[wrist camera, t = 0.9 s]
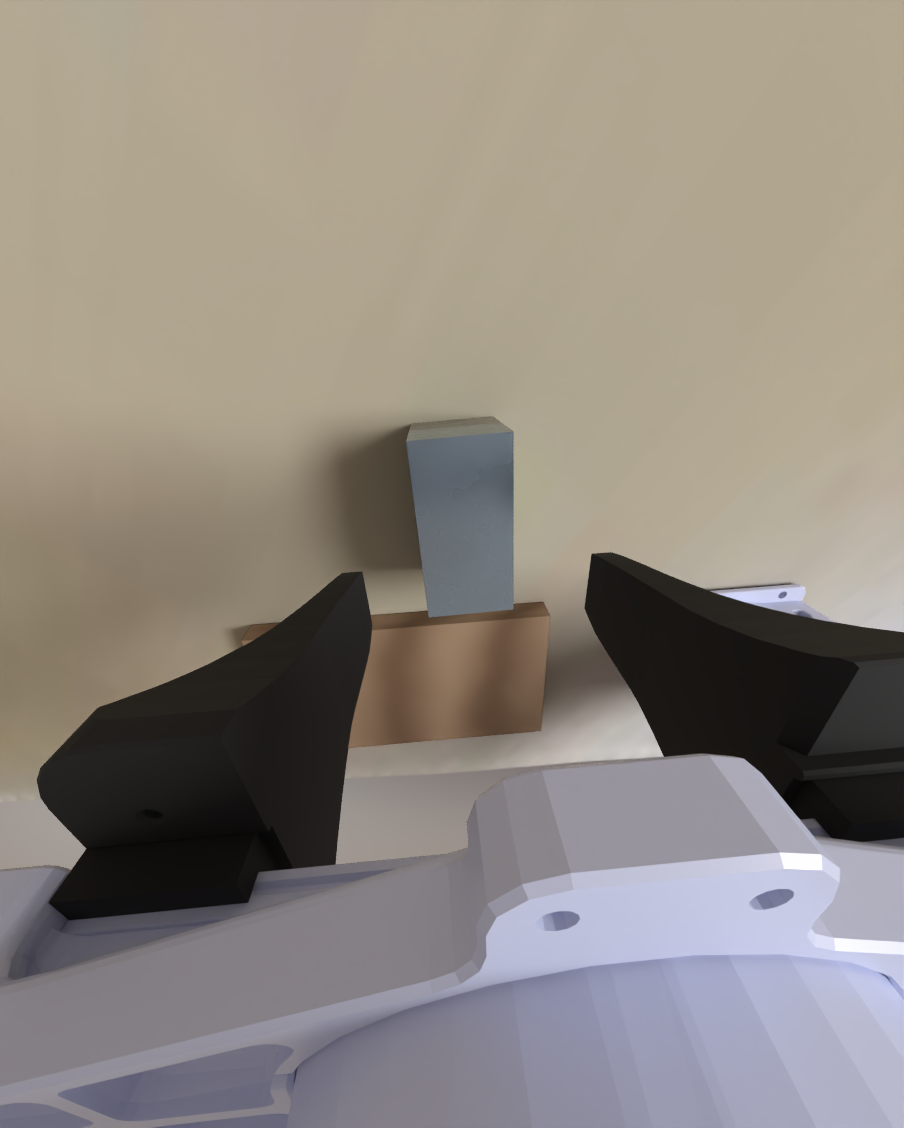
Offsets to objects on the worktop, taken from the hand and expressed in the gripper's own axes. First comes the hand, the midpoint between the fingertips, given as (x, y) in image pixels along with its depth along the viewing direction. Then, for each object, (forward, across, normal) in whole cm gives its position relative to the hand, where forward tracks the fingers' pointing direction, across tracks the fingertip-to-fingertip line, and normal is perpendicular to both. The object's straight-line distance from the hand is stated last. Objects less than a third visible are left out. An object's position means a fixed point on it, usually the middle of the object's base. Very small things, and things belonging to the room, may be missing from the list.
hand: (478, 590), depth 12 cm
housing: (+9, 0, 0) cm, 9 cm away
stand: (+9, +4, +12) cm, 16 cm away
